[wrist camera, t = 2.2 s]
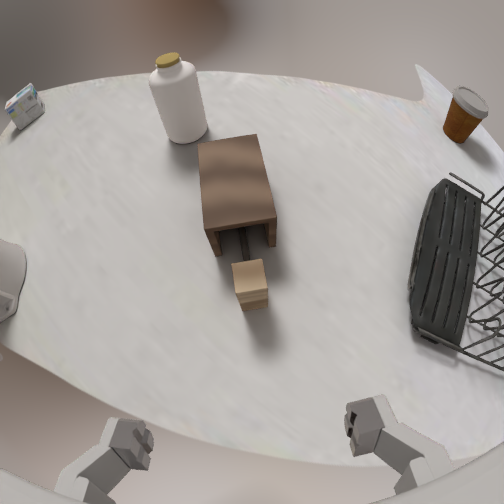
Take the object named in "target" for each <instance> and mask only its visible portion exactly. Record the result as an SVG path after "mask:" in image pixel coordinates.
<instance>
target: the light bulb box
mask: <svg viewBox="0 0 504 504" xmlns="http://www.w3.org/2000/svg"><path fill="white" fill-rule="evenodd" d="M5 111H6V112H7V114H8V115H9V116H10V118H11V119H12V121H13V122H14V123H15V125H16V126H17V127H18V129H19V130H20V131H21V130H22V129H23V128H24V127H26V126H27V125H28V124H30V123H31V122H32V121H33V120H35V119H36V118H37V117H39V116H40V115H41V114H43V113H44V112H45V107H44V103H43V101H42V100H41V98H40V97H39V95H38V94H37V92H36V91H35V89H34V87H33V86H32V84H31V83H30V84H29V85H28V86H26V87H25V88H24V89H23V90H21V91H20V92H19V93H17V94H16V95H15V96H14V97H13V98H11V99H10V100H9V101H7V103H6V107H5Z"/></svg>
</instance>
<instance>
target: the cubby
mask: <svg viewBox="0 0 504 504" xmlns="http://www.w3.org/2000/svg"><path fill="white" fill-rule="evenodd" d="M198 160H199V174H200V187H201V200H202V212H203V223H204V230H205V233H206V235H207V238H208V240H209V242H210V245H211V247H212V250H213V252H214V254H215V256H221V255H222V251H221V243H220V235H219V231H221V230H226V229H232V228H238V227H244V226H250V225H256V224H262V223H264V226H265V230H266V235H267V240H268V245H269V247H275V246H276V227H277V215H276V211H275V207H274V203H273V198H272V194H271V190H270V186H269V182H268V178H267V174H266V169H265V165H264V161H263V157H262V153H261V149H260V146H259V142H258V138H257V134H253V135H246V136H239V137H233V138H227V139H221V140H215V141H210V142H204V143H199V144H198Z"/></svg>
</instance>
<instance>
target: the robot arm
mask: <svg viewBox="0 0 504 504" xmlns="http://www.w3.org/2000/svg"><path fill="white" fill-rule="evenodd" d="M25 271H26V258H25V254H24V251H23V249H22V248H21V247H20V246H19V245H17V244H13V243H9V242H6V241H4V240H2V239H0V322H2V321H3V320H5V319H6V318H8V317H9V316H11V315H12V314H14V313H15V312H16V309H17V304H18V296H19V292H20V290H21V287H22V284H23V281H24V277H25ZM346 411H347V414H346V415H345V418H344V423H345V430H346V434H347V436H348V437H350V438H351V440H350V447H351V450H352V454H353V457H355V456H359V455H364V454H368V453H372V452H374V454H376V455H377V456H378V457H379V458H381V459H382V460H383V461H384V462H386V463H387V464H388V465H389V466H391V467H392V468H393V469H395V470H396V471H397V472H399V473H400V474H401V475H402V476H401V478H400V479H399V481H398V482H397V484H396V485H395V487H394V489H395V492H396V495H395V496H392V497H389V498H386V499H383V500H380V501H376V502H373V503H370V504H504V441H503V442H502V443H500V444H499V445H497V446H496V447H494V448H493V449H491V450H489V451H488V452H486V453H485V454H483V455H481V456H479V457H478V458H476V459H474V460H473V461H471V462H469V463H467V464H465V465H464V466H461V467H460V468H458V469H455V468H454V465H453V463H452V461H451V459H450V457H449V455H448V453H447V451H446V449H445V447H444V446H443V445H441V444H439V443H437V442H435V441H433V440H432V439H430V438H428V437H426V436H424V435H422V434H421V433H419V432H417V431H415V430H414V429H412V428H410V427H408V426H407V425H405V424H403V423H399V424H398V422H397V420H396V418H395V415H394V413H393V411H392V409H391V407H390V405H389V403H388V401H387V399H386V397H385V395H383V394H382V395H378V396H375V397H370V398H366V399H362V400H358V401H354V402H350V403H347V405H346ZM145 427H146V424H145V423H144V421H143V420H132V419H122V418H113V417H111V418H109V419H108V421H107V423H106V426H105V428H104V431H103V434H102V436H101V439H100V441H99V444H98V445H95V446H93V447H92V448H91V449H89V450H88V451H87V452H85V453H84V454H83V455H81V456H80V457H79V458H78V459H76V460H75V461H74V462H72V463H71V464H70V465H68V466H67V467H65V468H64V469H63V470H62V471H61V473H60V476H59V478H58V481H57V484H56V486H55V489H54V491H51V490H49V489H46V488H43V487H41V486H39V485H36V484H34V483H32V482H30V481H27V480H25V479H23V478H21V477H19V476H17V475H15V474H13V473H11V472H9V471H7V470H5V469H1V468H0V504H116V503H115V501H114V500H113V499H111V498H110V497H109V496H107V494H108V493H109V492H110V491H111V490H112V489H113V488H114V487H115V486H116V485H117V484H118V483H119V482H120V481H121V480H122V479H123V478H124V476H125V475H126V474H127V473H128V472H129V471H130V470H131V469H136V470H148V468H149V464H150V459H151V458H150V457H149V455H148V454H149V453H150V452H151V451H153V446H154V439H153V436H152V433H151V432H150V431H149V430H148V429H146V428H145Z"/></svg>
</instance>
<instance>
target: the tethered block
mask: <svg viewBox="0 0 504 504" xmlns="http://www.w3.org/2000/svg"><path fill="white" fill-rule="evenodd" d="M239 234H240V240H241V246H242V253H243V259H244V262H238V263H232V264H231V265H232V272H233V279H234V286H235V292H236V296H237V298H238V301H239V303H240V306H241V309H242V311H246V310H253V309H259V308H264V307H268V288H267V282H266V277H265V271H264V266H263V261H262V259H256V260H250V257H249V251H248V245H247V239H246V233H245V227H239Z"/></svg>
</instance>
